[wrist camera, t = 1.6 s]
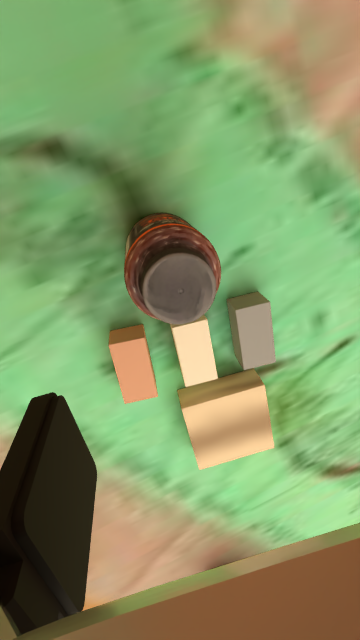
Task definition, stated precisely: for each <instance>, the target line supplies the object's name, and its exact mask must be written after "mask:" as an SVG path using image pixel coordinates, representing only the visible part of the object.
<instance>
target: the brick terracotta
mask: <svg viewBox="0 0 360 640" xmlns="http://www.w3.org/2000/svg"><path fill="white" fill-rule="evenodd" d="M109 349H110V352H111V356H112V359H113V363H114V366H115V370H116V374H117V377H118V381H119V384H120V388H121V392H122V395H123V399H124V402H125V404H126V403H131V402H135V401H140V400H144V399H149V398H153V397H158V393H157V387H156V380H155V375H154V371H153V367H152V362H151V358H150V353H149V349H148V344H147V340H146V335H145V331H144V326H143V324H141V325H137V326H132V327H127V328H122V329H117V330H112V331H110V336H109Z"/></svg>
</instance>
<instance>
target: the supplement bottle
mask: <svg viewBox="0 0 360 640" xmlns="http://www.w3.org/2000/svg"><path fill="white" fill-rule="evenodd" d="M124 277H125V284H126V287H127V290H128V293H129V295H130V297H131V299H132V300H133V302H134V303H135V304H136V306H137V307H138V308H139V309H140V310H141V311H143V312H144V313H146V314H147V315H149V316H151V317H153V318H156V319H159V320H162V321H163V322H166V323H169V324H186V323H190V322H193V321H195V320H197V319H199V318H200V317H201V316H202V315H204V314H205V313H206V312H207V311H208V309H209V308H210V307H211V305H212V303H213V301H214V298H215V295H216V293H217V290H218V287H219V284H220V279H221V266H220V261H219V258H218V255H217V252H216V251H215V249H214V247H213V245H212V244H211V243H210V241H209V240H208V239H207V238H206V237H205V236H204V235H202V234H201V233H200V232H199V231H197V230H196V229H195V228H193V227H192V226H191V225H190V224H189V223H187V222H186V221H185V220H183V219H182V218H180V217H178V216H175V215H172V214H168V213H156V214H152V215H149V216H146V217H145V218H143V219H141V220H140V221H139V222H138V223H137V224H135V225H134V227H133V228H132V230H131V231H130V234H129V235H128V239H127V242H126V248H125V266H124Z"/></svg>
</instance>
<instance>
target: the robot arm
mask: <svg viewBox="0 0 360 640" xmlns="http://www.w3.org/2000/svg"><path fill="white" fill-rule="evenodd" d="M96 481H97V470H96V465H95V462H94V460H93V458H92V456H91V454H90V452H89V449H88V447H87V445H86V443H85V441H84V439H83V437H82V434H81V432H80V430H79V428H78V426H77V424H76V422H75V419H74V417H73V415H72V413H71V411H70V409H69V406H68V404H67V402H66V400H65V398H64V397H63V396H62V395H60V396H57V395H56V394H55V393H53V392H52V393H49V394H45V395H41V396H38V397H34V398H32V399H31V401H30V403H29V405H28V408H27V410H26V412H25V415H24V417H23V419H22V422H21V424H20V426H19V429H18V431H17V433H16V436H15V438H14V440H13V443H12V445H11V447H10V450H9V452H8V454H7V457H6V459H5V461H4V463H3V465H2V468H1V470H0V640H360V523H357V524H354V525H351V526H348V527H344V528H341V529H338V530H335V531H331V532H328V533H325V534H322V535H319V536H315V537H312V538H309V539H306V540H302V541H299V542H296V543H293V544H290V545H286V546H283V547H280V548H277V549H274V550H270V551H267V552H264V553H261V554H258V555H255V556H251V557H248V558H245V559H242V560H239V561H236V562H232V563H229V564H226V565H223V566H220V567H217V568H213V569H210V570H207V571H204V572H201V573H198V574H194V575H191V576H188V577H185V578H182V579H178V580H175V581H172V582H169V583H166V584H163V585H159V586H156V587H153V588H150V589H147V590H144V591H141V592H138V593H135V594H132V595H129V596H126V597H123V598H120V599H117V600H115V601H112V602H109V603H106V604H103V605H100V606H97V607H94V608H91V609H88V610H85V611H82V610H83V607H84V602H85V592H86V582H87V572H88V562H89V552H90V542H91V532H92V522H93V511H94V501H95V491H96ZM81 611H82V612H81ZM78 612H79V613H78Z"/></svg>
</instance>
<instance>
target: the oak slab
mask: <svg viewBox="0 0 360 640" xmlns="http://www.w3.org/2000/svg"><path fill="white" fill-rule="evenodd" d="M177 392H178V396H179V400H180V404H181V409H182V412H183V416H184V419H185V422H186V426H187V429H188V433H189V436H190V439H191V443H192V446H193V450H194V453H195V457H196V460H197V463H198V467H199V470H201V469H204V468H208V467H211V466H214V465H218V464H221V463H224V462H228V461H231V460H234V459H238V458H241V457H244V456H248V455H251V454H255V453H258V452H261V451H265V450H268V449H271V448H274V442H273V436H272V429H271V423H270V416H269V410H268V403H267V397H266V390H265V385H264V383H263V382H262V380H261V379H260V377H259V376H258V374H257V373H256V371H255V370H254V368H252V369H249V370H245V371H242V372H238V373H235V374H231V375H228V376H225V377H221V378H218V379H215V380H211V381H207V382H204V383H200V384H197V385H193V386H190V387H186V388H183V389H179V390H177Z"/></svg>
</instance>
